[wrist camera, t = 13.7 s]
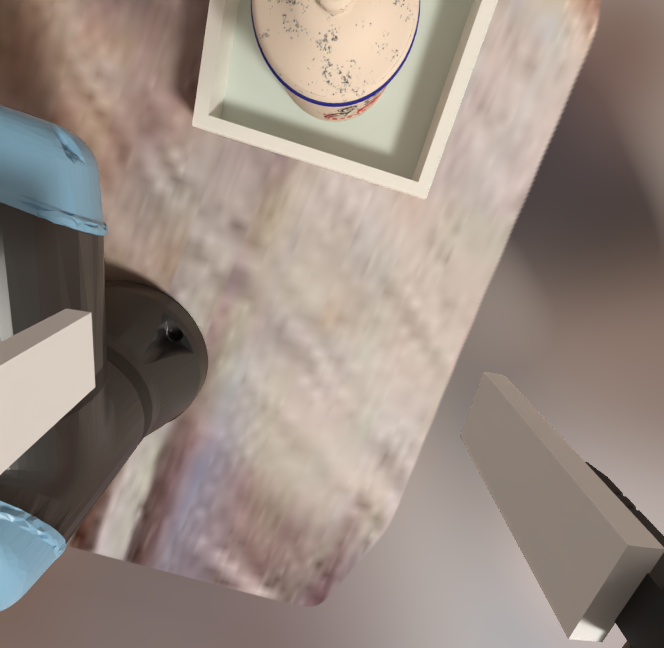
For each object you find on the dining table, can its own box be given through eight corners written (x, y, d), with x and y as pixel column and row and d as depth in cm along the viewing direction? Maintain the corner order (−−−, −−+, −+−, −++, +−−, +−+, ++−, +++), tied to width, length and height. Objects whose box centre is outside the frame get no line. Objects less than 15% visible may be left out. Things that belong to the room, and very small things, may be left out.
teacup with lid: (332, 152, 30) (330, 136, 20) (249, 54, 28) (194, -25, 17) (453, 28, 27) (529, -71, 17) (370, -92, 25) (397, -301, 14)
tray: (209, 132, 31) (192, 125, 27) (255, -162, 25) (241, -223, 21) (415, 197, 33) (425, 199, 29) (507, -63, 26) (535, -104, 23)
